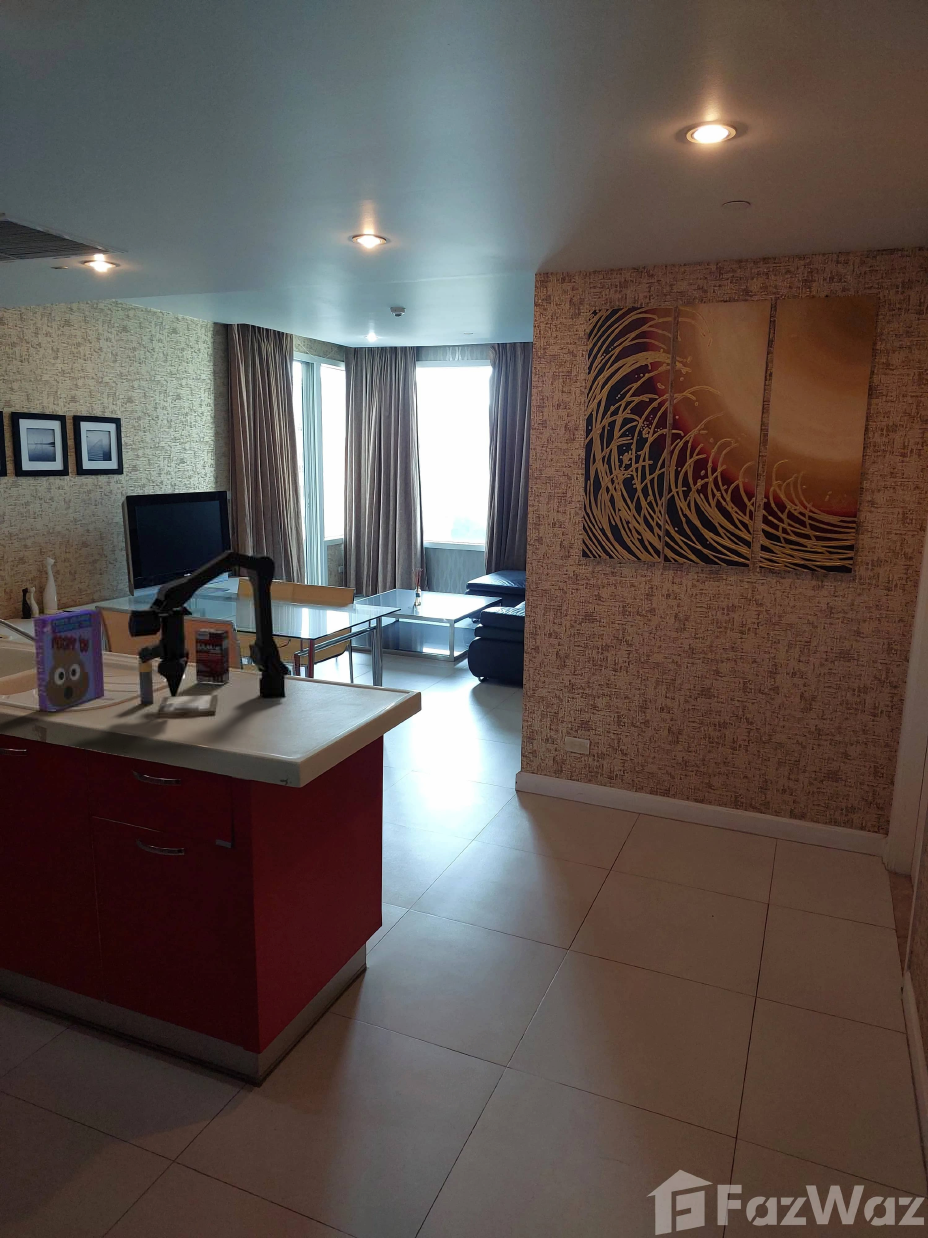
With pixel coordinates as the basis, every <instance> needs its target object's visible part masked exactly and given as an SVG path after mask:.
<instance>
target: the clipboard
mask: <svg viewBox="0 0 928 1238" xmlns="http://www.w3.org/2000/svg"><path fill="white" fill-rule="evenodd" d="M217 698H218V694H200V695H176V697H172V696H171V695H170V696H163V697H162V700H161V702H160V705H159V706H158V707H159V708H158V710H157V712H156V717H158V718H176V717H177V716H181V717H197V716H198V717H199V716H200V717H201V716H202V715H204V716H216V712H217V705H218V704H217V703H218V699H217ZM177 718H178V717H177Z"/></svg>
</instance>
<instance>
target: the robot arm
mask: <svg viewBox="0 0 928 1238" xmlns="http://www.w3.org/2000/svg"><path fill="white" fill-rule="evenodd" d="M234 567H238V568H241V569H245V571H246V576H247V578H248V580H249V583H250V585H251V587H252V596H253V597H252V598H253V608H254V609H253V610H254V612H253V613H254V628H255V640H254V642H253V643H252V644H250V643H249V644H248V648H249V659H250V660H251V662H252V664H253V665H254V666H256V667H257V670H258V672H259V673H261V677H259V695H261V696H260V697H261V698H263V699H264V698H284V697H286V691H285V690H286V687H285V685H286V683H285V681H286V680H285V676H288V674H289V670H290V668H289V667H288V666H287V665H286V664H285V663H284V662H283V661H282V660H281V653H280V650H279V647H278V645H277V643H276V641H275V638H274V628H273V624H274V623H273V612H272V597H271V595H272V594H271V586H272V584H273V581H274V578H275V569H276V564H275V561H274V559H272V558H271V557H270V556H268V555H263V554H257V553H253V554H251V555H248V554H243V553H239V552H237V551H234V550H230V549H229V550H225V551H223V552H222V553H221V554H220V555H219V556H216V557H215V558H214V559H212V560H210V561H209V562H208V563H206V564H203V566H201V567H200V568H198V569H196V570H194V571H193V572H192V573H190V574H189V575H186V576H184V577H182V578H178V579H174V580H172V581H169V582H167V583H164V584H163V585H161V586H159V588H158V589H157V591H156V592H157V593H156V597H155V598H154V600H153V601H152V603H151V604H150V606H149V607H148V609H131V610H130V615H129V617H128V621H127V623H128V624H127V625H128V632H129V635H130V637H132V638H139V637H151V636H157V635H158V633H161V634H160V639H159V640H158V641H159V642H156V643H153V644H150V645H146V646H145V647H141V648H140V649H138V651H137V655H138V658H139V659H141V661H142V663H143V664H144V663H147V662H148V661H150V660H152V661H153V660H155V659H158V658H159V660H160V662H158V664H157V674H159V675H160V676H162V677H164V679H166V683H167V687H168V690H169V693H170V696H172V697H176V696H178V695H177V694H178V691H179V688H180V686H181V684H182V680H183V677H184V674H185V672H186V669H187V666H188V664H189V663H188V662H189V659H190V650H189V649H188V648H187V647H186V639H187V638H186V632H185V631H186V629H185V616H186V617H188V616H192V615H193V612H192V611H190V610H189V609H188V608H187V606H185V605H186V604H187V602H189V601H190V600H191V599H192V598H193V597H194V595H195V594H196V592H197V591H198V590H200V589H201V588H203V587H204V586H206V585H208V584H210V583H211V582H212V581H214V580H215V579H217V578H219V577H220V576H222V575H223V574H225V573H226V572H227V571H229V570H230V569H233V568H234ZM139 659H138V660H139Z"/></svg>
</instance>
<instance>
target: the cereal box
mask: <svg viewBox="0 0 928 1238" xmlns="http://www.w3.org/2000/svg"><path fill="white" fill-rule="evenodd" d="M101 618H102V617H101V610H97V609H92V608H91V609H90V608H89V609H82V610H77V611H71V612H65V613H59V614H54V615H49V616H48V615H47V616H43V617H37V618H33V629H34V645H35V662H36V675H37V676H36V679H37V680H36V682H37V695H38V710H39V709H40V710H39V711H43V710H59V711H61V710H65V709H68V708H71V707H74V706H78V705H80V704H83V703H86V702H90V701H93V700H96V699H100V698H102V697H105V687H104V685H105V683H104V664H103V662H104V659H103V660H102V643H103V638H101V636H102V620H101Z"/></svg>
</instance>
